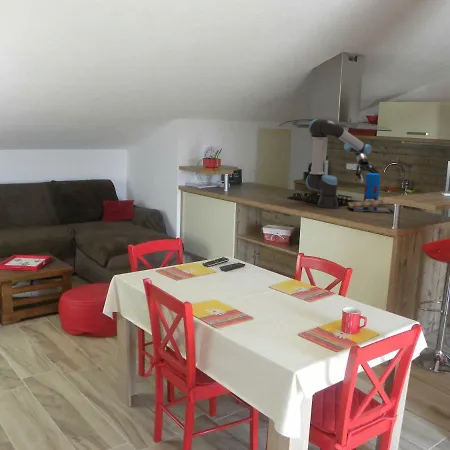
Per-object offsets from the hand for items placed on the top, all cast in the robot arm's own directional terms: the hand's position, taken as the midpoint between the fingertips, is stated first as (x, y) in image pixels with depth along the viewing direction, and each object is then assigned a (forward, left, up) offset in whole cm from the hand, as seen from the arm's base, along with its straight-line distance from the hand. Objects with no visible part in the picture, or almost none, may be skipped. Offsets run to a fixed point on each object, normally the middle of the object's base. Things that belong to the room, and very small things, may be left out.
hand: (370, 182), depth 395 cm
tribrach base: (-2, -25, -18) cm, 30 cm away
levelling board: (-2, -25, -13) cm, 28 cm away
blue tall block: (+1, -6, -18) cm, 19 cm away
